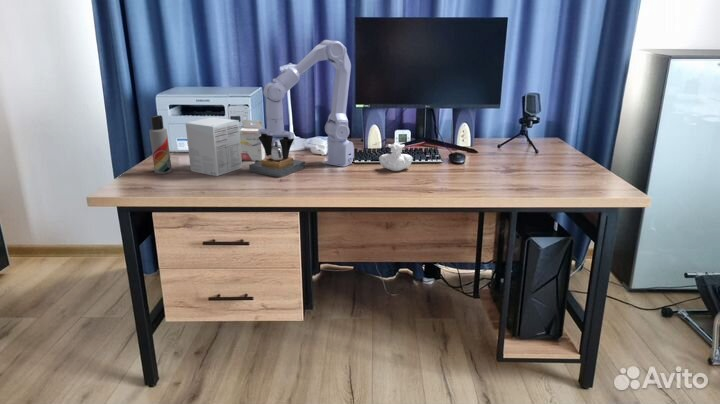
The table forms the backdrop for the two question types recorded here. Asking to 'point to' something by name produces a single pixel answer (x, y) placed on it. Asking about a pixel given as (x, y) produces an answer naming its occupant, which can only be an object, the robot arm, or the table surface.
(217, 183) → the table surface
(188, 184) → the table surface
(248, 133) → the ink cartridge box
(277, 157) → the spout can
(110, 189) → the table surface
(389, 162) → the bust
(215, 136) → the supplement box
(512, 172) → the table surface
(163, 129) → the lotion bottle
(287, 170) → the gray plate with frame
